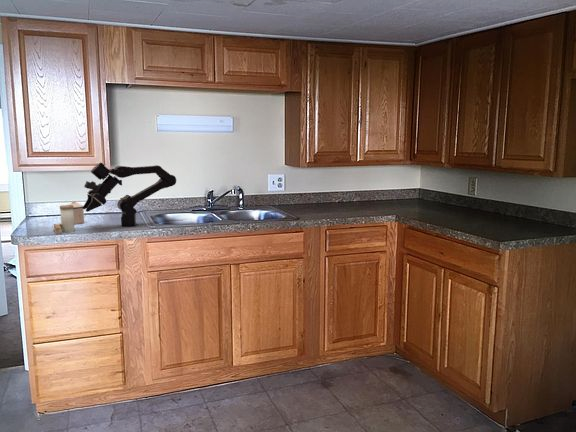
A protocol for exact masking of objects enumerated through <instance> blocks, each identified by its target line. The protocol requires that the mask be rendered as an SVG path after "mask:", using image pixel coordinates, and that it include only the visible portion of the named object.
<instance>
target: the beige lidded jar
mask: <svg viewBox="0 0 576 432" xmlns="http://www.w3.org/2000/svg"><path fill="white" fill-rule="evenodd" d="M68 205H73V215H74V225H81V224H84V223H85V215H84V211H85V209H83V206H84V205H83V204H81V203H79V202H77V201H76V200H72V201H71V202H70V203H69V204H68Z"/></svg>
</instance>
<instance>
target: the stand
mask: <svg viewBox="0 0 576 432" xmlns="http://www.w3.org/2000/svg"><path fill="white" fill-rule="evenodd" d="M74 229H75V226H74ZM53 230H54V232H55V234H56V235H61V234H63V232H62V226H61V223H53Z"/></svg>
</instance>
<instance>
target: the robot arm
mask: <svg viewBox="0 0 576 432" xmlns="http://www.w3.org/2000/svg"><path fill="white" fill-rule="evenodd" d="M90 173H91V174H93V175H94V176H95V178H97V179H98V180H100V181H101V180H103V181H102V182H101V183H98V184H96V182H95V181H93V180H91V182H90V181H88V180H86V182H85V184H84V185H83V187H84V188H86V189H88V190H89V191H88V192H87V199H86V201H85V203H84V205H83V210H85V212H87V213H88V212H90V211H93V210H95V209H97V208H99V207H102V206H103V205H105V204H106V203H107V199H106V197H107V196H108V195H110V194H111V193H112V191H113V189H114V188H115V187H116V186H117V185H120V186H121V187H122V186H123V179H124V178H127V177H132V176H135V175H145V174H146V175H147V174H155V175H157V176H158V178H159V179H158V180H157V181H156V182H155V183H153V184H151V185H150V186H148V187H146V188H144V189H142V190H141V191H139V192H137V193H136V194H134V195H129V194H125V195H124V196H123V197H121V198H119V200H118V201H117V204H116V205H117V208H118V209H119V210H120V211H121V216H120V223H121V227H136V225H138V223H137V208H135V207H136V205H138V203H139V202H142V201H143V200H145V199H147V198H149V197H150V196H151V195H154V194H156V193H157V192H159V191H161V190H162V189H167V188H171V187H173V186H175V185H176V183H177V178H176V176H175V175H173V174H170V173H169V172H168V171H166V170H165V169H164V168H163V167H162V166H160V165H157V164H155V165H147V166H145V165H144V166H134V167H133V166H125V165H117V166H115V167H114V168H108V167H106V165H105V164H104V163H103V162H99V163H97V165H95V166H94V167H93V168H92V169H91V170H90Z"/></svg>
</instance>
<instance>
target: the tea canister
mask: <svg viewBox="0 0 576 432" xmlns="http://www.w3.org/2000/svg"><path fill="white" fill-rule="evenodd" d="M59 210H60V221H61V222H60V224H61V226H62V230H61V233H71V232H75V229H74V227H75V224H74V215H73V205H69V204H65V205H59Z"/></svg>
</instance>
